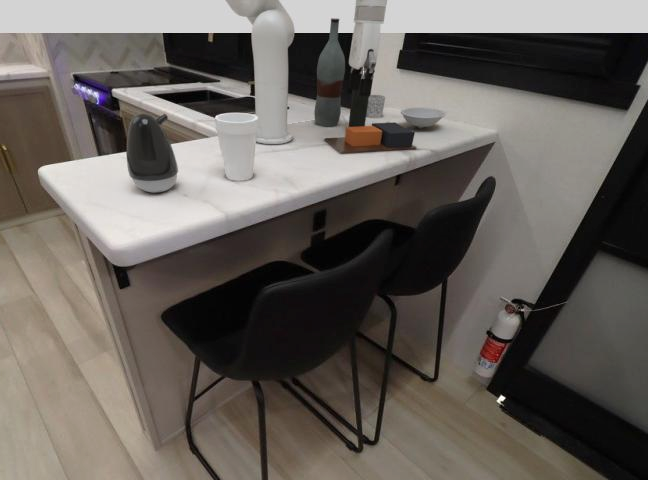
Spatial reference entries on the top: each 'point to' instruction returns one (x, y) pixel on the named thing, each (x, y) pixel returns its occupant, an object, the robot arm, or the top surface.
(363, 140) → the loose pad
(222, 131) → the foam cup
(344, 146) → the board
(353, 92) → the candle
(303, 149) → the top surface
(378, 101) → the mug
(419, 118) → the dish
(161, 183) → the pump dispenser
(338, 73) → the bottle
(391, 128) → the back pad
